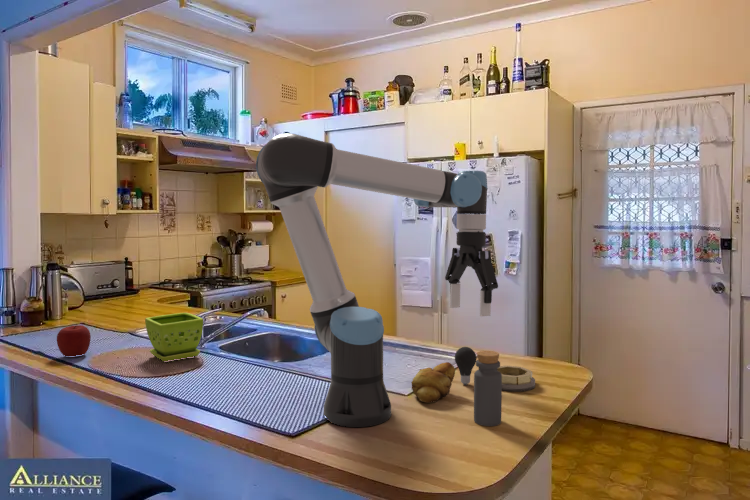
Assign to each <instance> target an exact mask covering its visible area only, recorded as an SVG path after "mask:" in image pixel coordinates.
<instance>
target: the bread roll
mask: <svg viewBox="0 0 750 500" xmlns="http://www.w3.org/2000/svg"><path fill="white" fill-rule="evenodd" d="M455 374H456V368H455V366H454V365H453V364H452V363H451V362H448V361H446V362H442V363H440V364H437V365H436V366H434V367H433V368H432V367H426V368H421V369H419V370H418V371H417V373H416V374H415V376H414V377H413V378H412V381H411V390H412V392H413V394H414V396H416V397H417V398H418V400H419V401H421V402H422V403H429V404H431V403H436V402H437V401H439V399H443V398H445V397H447V396H448V395H449V393H450V392H451V387H452V384H453V383H452V382H453V380H454V378H455Z"/></svg>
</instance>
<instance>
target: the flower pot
mask: <svg viewBox="0 0 750 500" xmlns="http://www.w3.org/2000/svg"><path fill="white" fill-rule="evenodd" d="M144 320H145V328H146V333H147V336H148V339H149V342H150V343H151V346H152V347H153V348H152V349H150V350H149V352H150V354H151V355H152V354H153V355H154V356H153V355H152V356H153V357H155V356H156V357H157V358H156V357H155V358H156V359H158V358H159V359H158V360H160V359H161V360H162V361H161V360H160V361H161V362H163V361H168V360H174V359H181V358H187V357H193V356H196V357H197V356H199V354H200V353H201V350H200V349H198V348H197V347H198V346H199V343H200V341H201V338H202V334H203V328H204V319H203V318H202V317H200V316H198V315H195V314H192V313H189V312H178V313H171V314H162V315H156V316H150V317H145V318H144Z"/></svg>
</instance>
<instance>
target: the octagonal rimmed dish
mask: <svg viewBox="0 0 750 500" xmlns="http://www.w3.org/2000/svg"><path fill="white" fill-rule="evenodd" d="M497 371H499V372H500V373H501V374H502V391H503V392H513V393H516V392H517V393H518V392H519V393H520V392H529V391H532V390H534V389H535V388H536V379H535V378H534V377H533V375H534V374H533V370H531V369H529V368H526V367H524V366H522V367H521V366H516V365H513V366H512V365H500V367H499V368H497Z"/></svg>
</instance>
